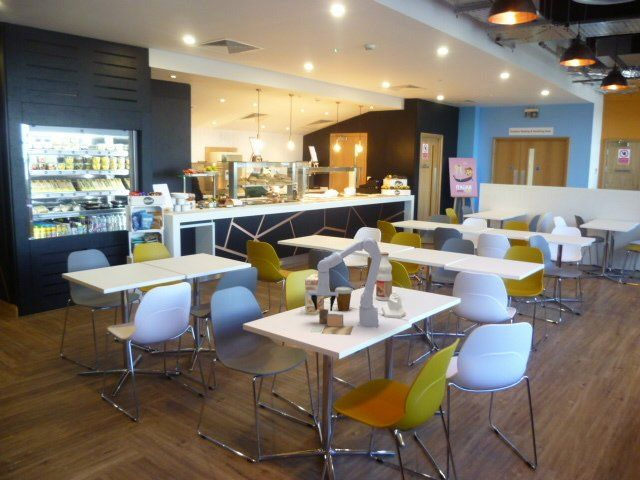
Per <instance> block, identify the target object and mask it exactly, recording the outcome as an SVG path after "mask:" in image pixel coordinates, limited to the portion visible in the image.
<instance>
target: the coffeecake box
mask: <svg viewBox="0 0 640 480" xmlns="http://www.w3.org/2000/svg"><path fill="white" fill-rule="evenodd" d="M304 282H305V283H304V285H305V286H304V291H305V292H304V295H305V297H304V300H305V301H304V303H305V310H304V311H305V313H304V314H305V315H313V316H314V315H315V316H319V311H320V309H325V296H317V310H315V306H314V303H313V301H312V299H311V296H309V292H310V291H311V292H313V291H318V273H312V274H311V275H309V276H308V277H307V278H305V279H304Z"/></svg>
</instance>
